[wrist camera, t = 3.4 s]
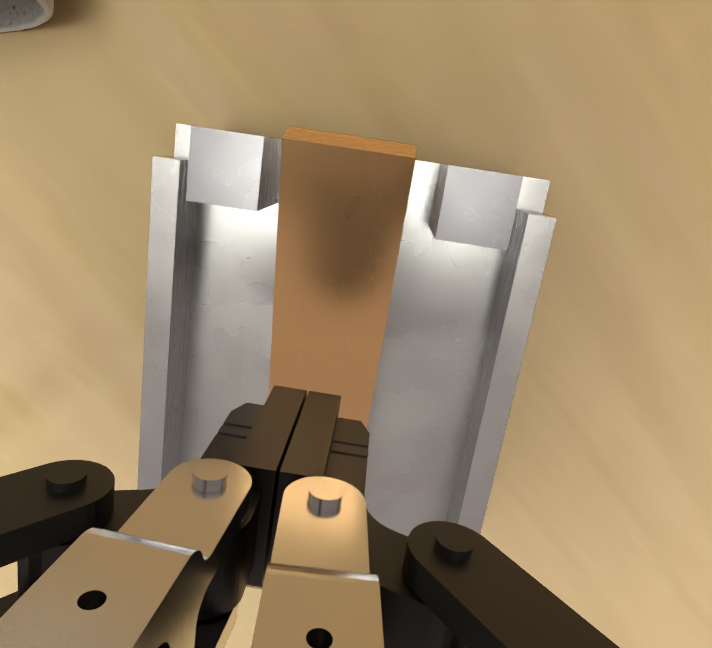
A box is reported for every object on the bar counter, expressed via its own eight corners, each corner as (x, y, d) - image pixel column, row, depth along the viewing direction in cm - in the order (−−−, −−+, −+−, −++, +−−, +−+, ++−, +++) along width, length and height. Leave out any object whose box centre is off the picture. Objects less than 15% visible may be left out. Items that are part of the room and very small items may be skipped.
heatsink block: (220, 130, 23) (136, 117, 16) (517, 175, 23) (579, 184, 15) (194, 479, 28) (118, 601, 20) (442, 519, 28) (461, 659, 20)
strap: (261, 121, 14) (243, 140, 12) (446, 149, 14) (448, 171, 12) (247, 556, 23) (236, 593, 22) (357, 574, 23) (353, 613, 21)
